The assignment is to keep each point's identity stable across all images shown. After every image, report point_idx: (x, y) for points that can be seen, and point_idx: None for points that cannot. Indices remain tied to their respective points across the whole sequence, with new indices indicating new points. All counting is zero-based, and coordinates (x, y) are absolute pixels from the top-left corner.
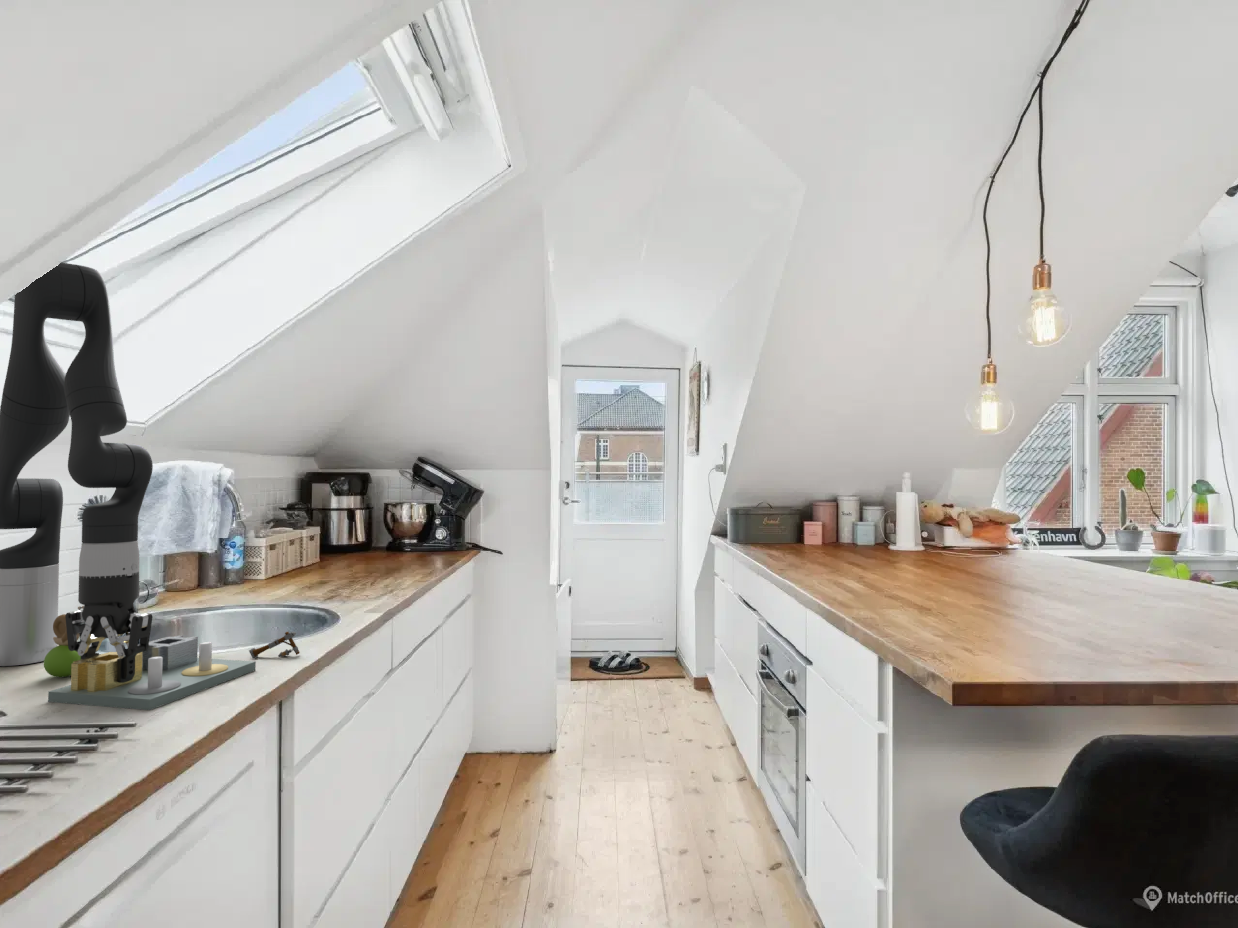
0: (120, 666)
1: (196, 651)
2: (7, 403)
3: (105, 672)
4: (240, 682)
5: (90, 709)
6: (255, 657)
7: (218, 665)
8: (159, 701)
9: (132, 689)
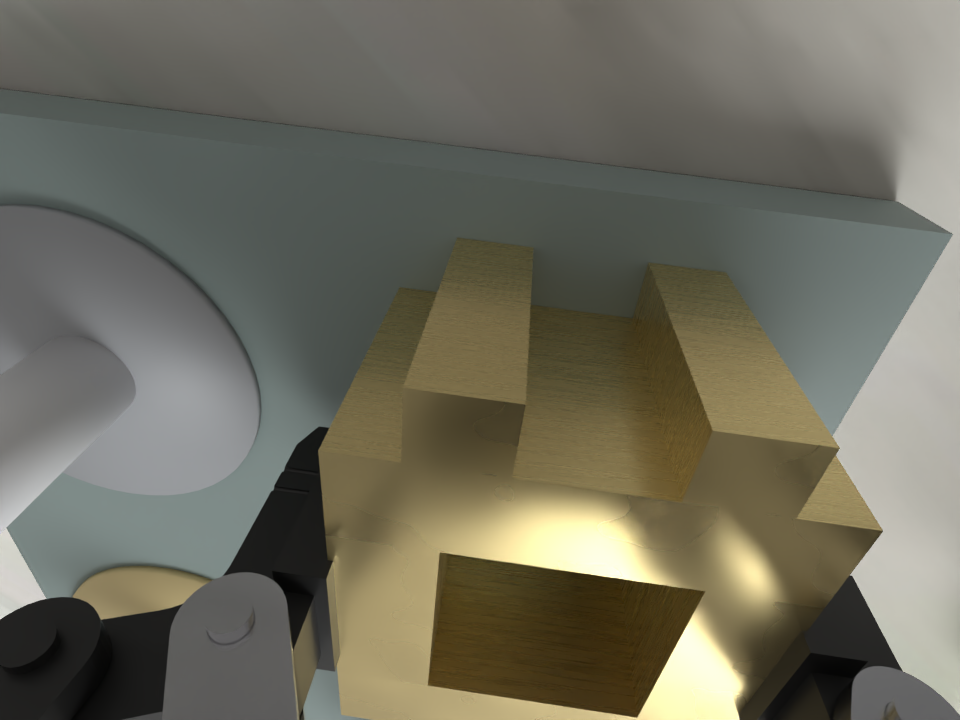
0: (305, 500)
1: None
2: None
3: (356, 380)
4: (8, 559)
5: (336, 30)
6: None
7: None
8: None
9: (169, 302)
